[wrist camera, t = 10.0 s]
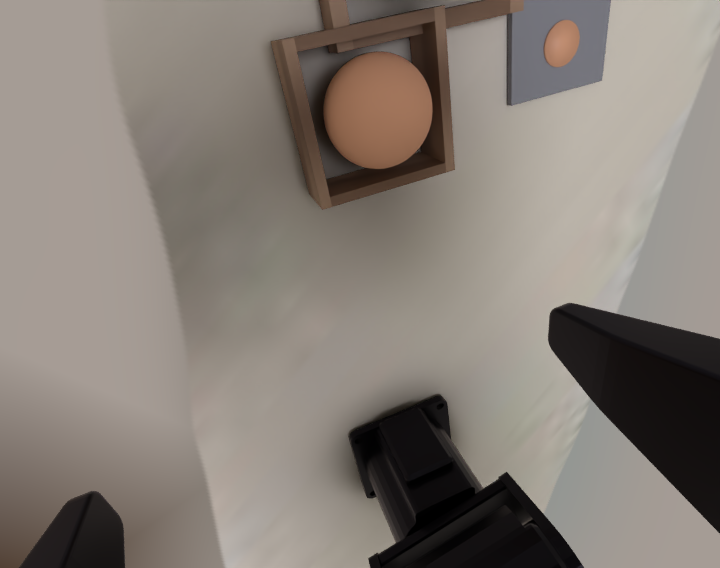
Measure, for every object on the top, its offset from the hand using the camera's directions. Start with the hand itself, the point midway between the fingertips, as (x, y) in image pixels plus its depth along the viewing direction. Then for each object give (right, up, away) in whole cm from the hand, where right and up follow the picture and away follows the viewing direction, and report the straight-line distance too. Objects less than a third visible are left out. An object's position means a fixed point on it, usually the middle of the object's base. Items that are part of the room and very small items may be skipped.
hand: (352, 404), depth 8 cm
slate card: (+9, +14, +10) cm, 19 cm away
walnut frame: (0, +9, +9) cm, 13 cm away
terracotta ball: (0, +9, +9) cm, 13 cm away
